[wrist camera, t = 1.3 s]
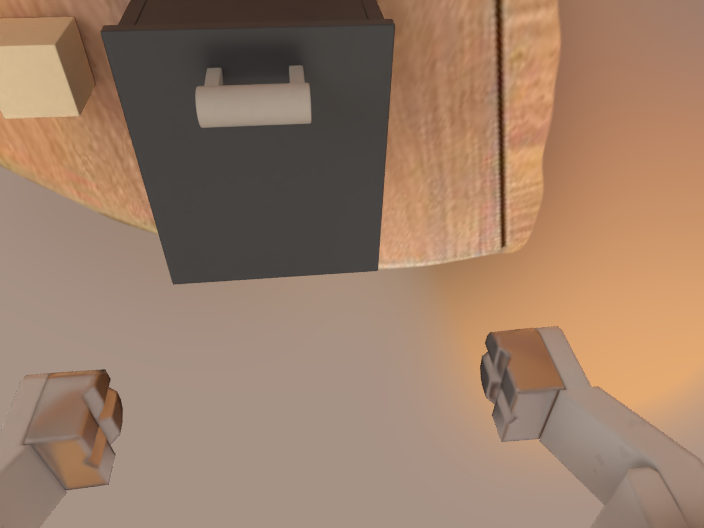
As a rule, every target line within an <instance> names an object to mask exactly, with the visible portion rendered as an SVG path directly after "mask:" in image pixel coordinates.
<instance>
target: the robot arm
mask: <svg viewBox="0 0 704 528" xmlns="http://www.w3.org/2000/svg"><path fill="white" fill-rule="evenodd" d="M485 344H486V347H487V350H488V352H487V353H486V354H484V355H483V356H482V360H481V365H480V370H481V381H482V386H483V389H484V393H485V396H486V398H487V399H489V400H490V401H491V402H492V403H494V404H495V406H494V410H493V414H492V416H493V419H494V422H495V425H496V427H497V431H498V433H499V436H500V439H501V442H507V441H519V440H530V439H540V442H541V443H542V444H543V445H544V446H545V447H546V448H547V449H548V450H549V451H550V452H551V453H552V454H553V455H554V456H555V457H556V458H557V459H558V460H559V461H561V463H562V464H563V465H564V466H565V467H566V468H567V469H568V470H569V471H570V472H572V474H573V475H574V476H575V477H576V478H577V479H578V480H579V481H581V482H582V483H583V484H584V485H585V486H586V487H587V488H588V489H589V490H590V491H591V492H592V493H593V494H594V495H595V496H596V497H597V498H598V499H599V500H600V501H601V502H602V503H603V504H604V505H605V506H604V507H603V509H602V511H601V512H600V514H599V515H598V517H597V518H596V520H595V521H594V523H593V525H592V526H591V528H704V464H703V462H702V461H701V460H700V459H699V458H698V457H697V456H695V455H694V454H692V453H691V452H690V451H688V450H687V449H685V448H684V447H683V446H681V445H680V444H678V443H677V442H675V441H674V440H673V439H671V438H670V437H668V436H667V435H666V434H664V433H663V432H661V431H660V430H659V429H657V428H656V427H655V426H653V425H652V424H650V423H649V422H647V421H646V420H645V419H643V418H642V417H640V416H639V415H638V414H636V413H635V412H633V411H632V410H631V409H629V408H628V407H626V406H625V405H624V404H622V403H621V402H619V401H618V400H616V399H615V398H614V397H612V396H611V395H610V394H608V393H607V392H605V391H604V390H602V389H601V388H600V387H591V385H590V383H589V381H588V379H587V377H586V376H585V373H584V371H583V369H582V368H581V366H580V364H579V362H578V360H577V358H576V356H575V354H574V352H573V350H572V348H571V347H570V345H569V343H568V341H567V339H566V337H565V335H564V333H563V331H562V330H561V329H560V328H559V327H558V326H553V327H542V328H526V329H517V330H508V331H498V332H490V333H489V334H488V336H487V339H486V342H485ZM109 383H110V377H109V375H108V374H107V372H106V370H91V371H75V372H60V373H47V374H36V375H26V376H25V377H24V379H23V380H22V381H21V382H20V383H19V386H18V389H17V391H16V393H15V396H14V398H13V401H12V403H11V406H10V408H9V411H8V413H7V415H6V418H5V420H4V423H3V425H2V428H1V430H0V528H40V526H41V525H42V524H43V523H44V521H45V520H46V519H47V517H48V516H49V515H50V514H51V512H52V511H53V510H54V508H55V507H56V506H57V504H58V503H59V502H60V501H61V499H62V498H63V497H64V496H65V494H66V493H67V492H66V491H65V490H72V489H79V488H87V487H95V486H101V485H109V481H110V477H111V472H112V468H113V464H114V459H115V453H114V451H113V449H112V447H111V446H110V445H111V444H112V443H113V442H114V441H115V440H116V439H117V437H118V436H119V435H120V432H121V427H122V416H123V415H122V414H123V413H122V412H123V410H122V409H123V408H122V403H121V399H120V397H119V395H118V393H117V391H115V390H113V389H111V388H109Z"/></svg>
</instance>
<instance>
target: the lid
mask: <svg viewBox="0 0 704 528" xmlns="http://www.w3.org/2000/svg"><path fill="white" fill-rule="evenodd" d="M394 34H395V24H394V22H393V20H392V19H375V20H331V21H287V22H242V23H198V24H154V25H109V26H103V28H102V30H101V36H102V39H103V43H104V46H105V50H106V53H107V56H108V60H109V63H110V67H111V70H112V74H113V77H114V81H115V84H116V88H117V91H118V95H119V98H120V102H121V105H122V109H123V112H124V116H125V119H126V123H127V126H128V129H129V133H130V136H131V140H132V143H133V147H134V150H135V154H136V157H137V161H138V164H139V168H140V171H141V175H142V178H143V182H144V185H145V189H146V192H147V196H148V199H149V202H150V206H151V209H152V213H153V216H154V220H155V223H156V227H157V230H158V234H159V237H160V241H161V244H162V247H163V251H164V255H165V258H166V262H167V265H168V268H169V272H170V275H171V279H172V282H173V284H186V283H201V282H217V281H232V280H247V279H262V278H277V277H290V276H291V277H292V276H307V275H323V274H338V273H353V272H368V271H377V270H378V262H379V247H380V233H381V219H382V205H383V190H384V176H385V162H386V148H387V133H388V119H389V105H390V91H391V76H392V62H393V48H394Z"/></svg>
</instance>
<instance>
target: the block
mask: <svg viewBox="0 0 704 528" xmlns="http://www.w3.org/2000/svg"><path fill="white" fill-rule="evenodd" d="M94 86H95V81H94V78H93V75H92V72H91V69H90V65H89V62H88V59H87V56H86V53H85V50H84V46H83V43H82V40H81V37H80V34H79V30H78V27H77V24H76V21H75V18H74V17H37V18H0V110H1V112H2V115H3V117H4V119H18V118H44V117H71V116H80V114H81V112H82V110H83V108H84V106H85V104H86V102H87V100H88V98H89V96H90V94H91V92H92V90H93V88H94Z"/></svg>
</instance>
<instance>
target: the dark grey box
mask: <svg viewBox="0 0 704 528" xmlns="http://www.w3.org/2000/svg"><path fill="white" fill-rule="evenodd" d="M375 19H384V18H383V15H382V13H381V11H380V8H379V6H378V4H377V1H376V0H131V1H130V3H129V5H128V7H127V9H126V10H125V12H124V14H123V16H122V18H121V20H120V22H119V24H118V25H154V24H198V23H242V22H287V21H331V20H375Z"/></svg>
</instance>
